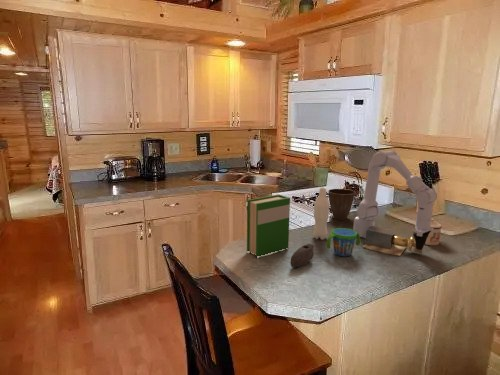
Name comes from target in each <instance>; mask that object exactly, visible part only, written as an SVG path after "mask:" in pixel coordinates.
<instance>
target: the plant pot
mask: <svg viewBox="0 0 500 375" xmlns="http://www.w3.org/2000/svg"><path fill="white" fill-rule="evenodd" d="M327 192H328V202H329V208H330V211H331V214H332V218H333V219H335V220H338V221H339V220H340V221H344V220H347V219H348V216H349V215H350V213H351V209H352V206H353V202H354V199H355V195H356V192H355V191H354V190H352V189H346V188H332V189H329V190H328V191H327Z"/></svg>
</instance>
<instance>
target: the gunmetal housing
mask: <svg viewBox="0 0 500 375" xmlns="http://www.w3.org/2000/svg"><path fill="white" fill-rule="evenodd" d="M393 235H394V236H396V229H395V230H394V229H390V228H386V227H385V228H384V227H378V226H375V225H374V226H370V227H369V228H368V229H367V231H366V238H365V244H367V245H371V246H376V247H380V248H385V249H389V250H390V249H391V248H392V247H393V245H391V241H392V236H393ZM365 244H364V245H365Z"/></svg>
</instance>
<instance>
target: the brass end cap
mask: <svg viewBox="0 0 500 375" xmlns="http://www.w3.org/2000/svg"><path fill="white" fill-rule="evenodd" d="M391 245H396V246H401V247H405V249H408V251H409V252H412V251H414V253H416V254H417V253H418V254H423V252H424V249H425V245H423V248H422V250H418V249H416V242H415V238H414V236H410V238H408V237H404V236H399V235H395V236H394V235H393V236H392V241H391Z"/></svg>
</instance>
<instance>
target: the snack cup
mask: <svg viewBox="0 0 500 375" xmlns="http://www.w3.org/2000/svg"><path fill="white" fill-rule="evenodd" d="M328 235H329V236H327V239H326V240H327V241H326V248H328V249H329V250H330V249H331V243H332V242H333V243H332V244H333V245H332V246H333V253H334V254H335V255H336V256H340V257H350V256H352V254H353V250H354V246H355V244H356V245H357V246H360V245H361V237H360V236H359V234H358V233H357V232H356V231H354V230H353V229H352V228H351V229H350V228H345V227H344V228H343V227H336V228H334V229H332V230H331V233H330V234H328ZM331 239H332V240H331ZM331 241H332V242H331Z"/></svg>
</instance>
